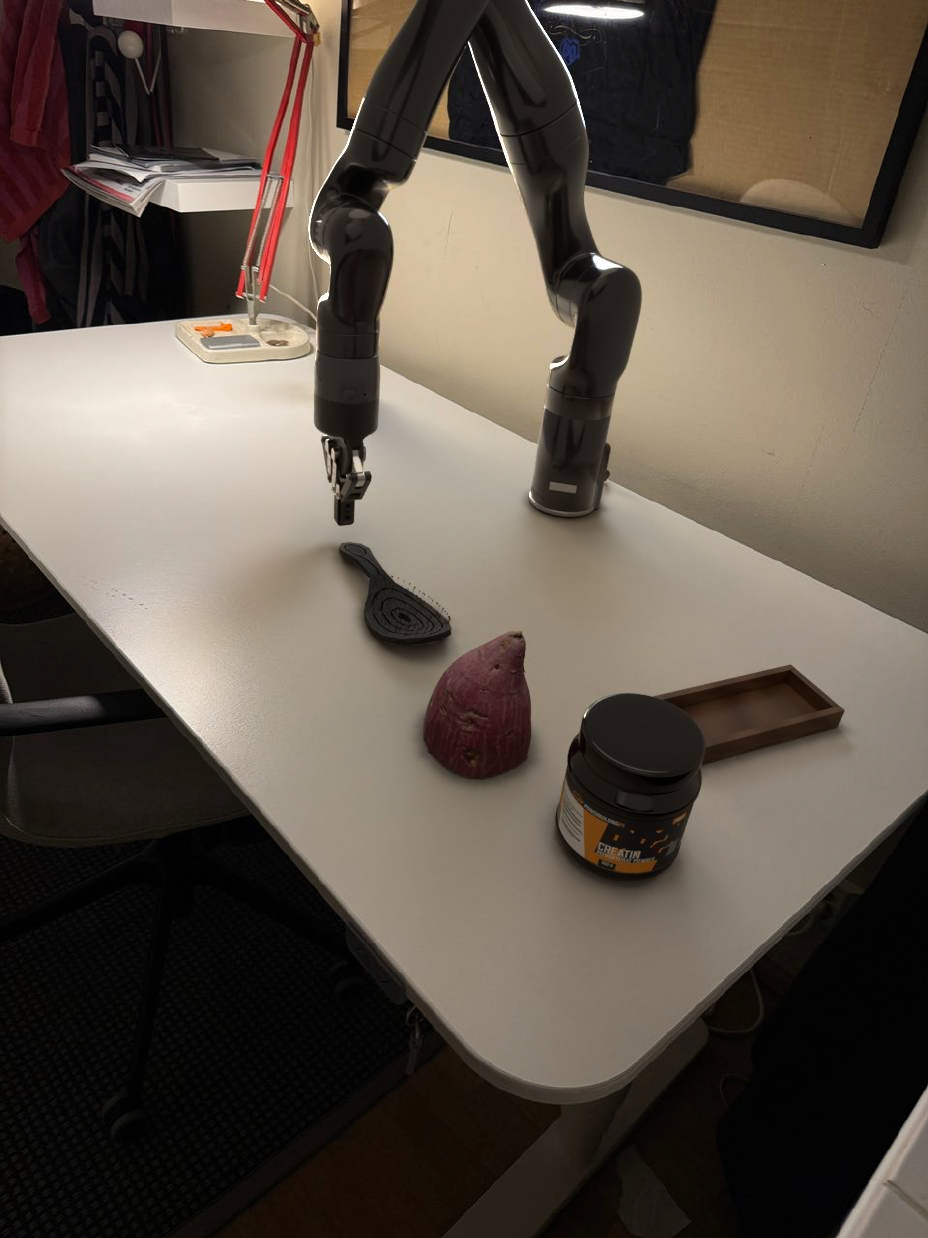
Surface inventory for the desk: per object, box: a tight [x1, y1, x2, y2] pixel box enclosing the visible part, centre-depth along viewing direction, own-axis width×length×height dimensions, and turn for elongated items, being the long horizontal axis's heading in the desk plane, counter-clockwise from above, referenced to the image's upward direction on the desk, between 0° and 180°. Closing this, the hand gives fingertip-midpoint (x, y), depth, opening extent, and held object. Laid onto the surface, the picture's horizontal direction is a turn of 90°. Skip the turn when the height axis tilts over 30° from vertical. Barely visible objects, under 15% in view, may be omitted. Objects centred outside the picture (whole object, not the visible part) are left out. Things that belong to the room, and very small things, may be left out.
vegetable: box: [422, 630, 532, 780], centre depth 80 cm, size 10×10×15 cm
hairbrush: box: [338, 541, 453, 647], centre depth 100 cm, size 8×4×25 cm
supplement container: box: [554, 692, 706, 883], centre depth 71 cm, size 10×10×12 cm
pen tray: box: [651, 664, 846, 766], centre depth 88 cm, size 18×8×2 cm, turn 114°
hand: (343, 522), depth 111 cm, fingers closed
